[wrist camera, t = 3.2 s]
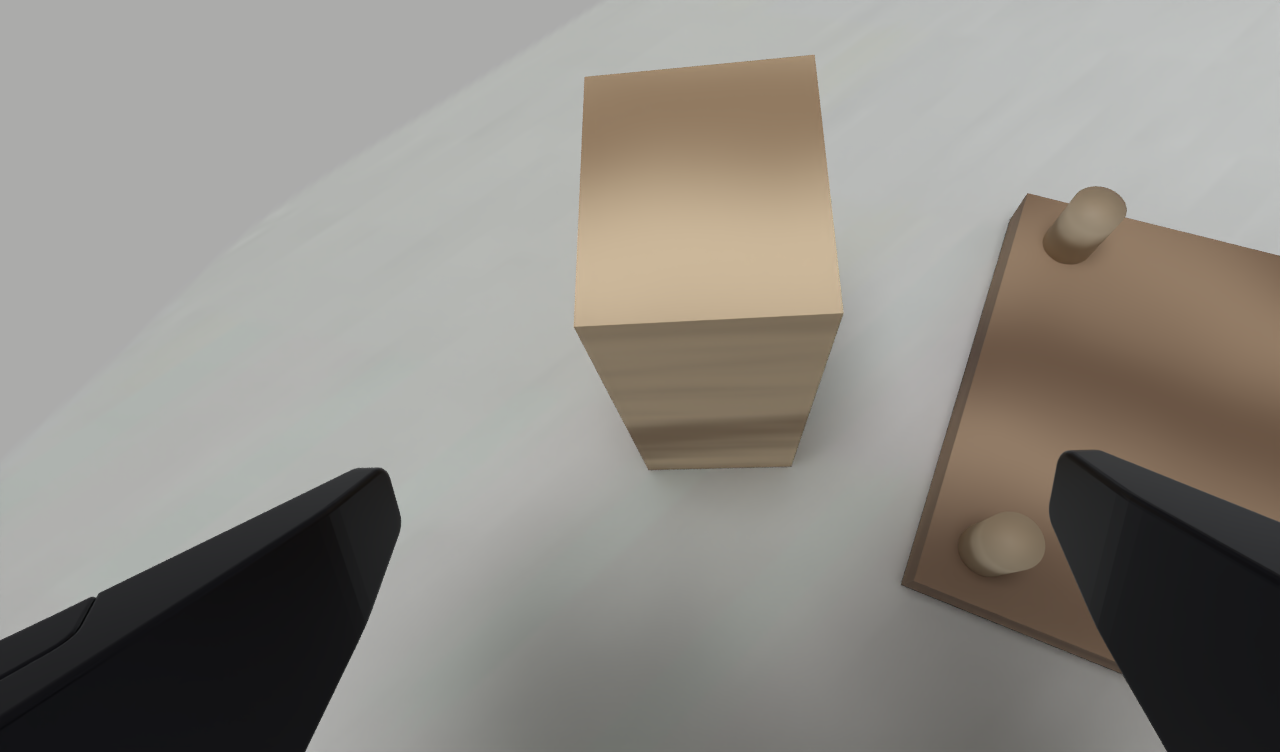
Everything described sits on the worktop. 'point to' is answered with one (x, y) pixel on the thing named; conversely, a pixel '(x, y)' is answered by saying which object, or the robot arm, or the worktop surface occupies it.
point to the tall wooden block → (708, 258)
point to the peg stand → (1097, 400)
